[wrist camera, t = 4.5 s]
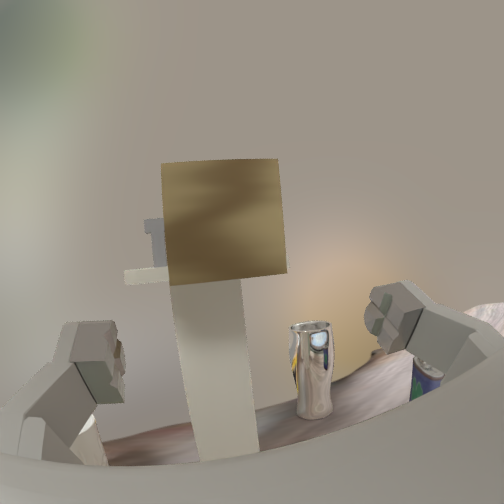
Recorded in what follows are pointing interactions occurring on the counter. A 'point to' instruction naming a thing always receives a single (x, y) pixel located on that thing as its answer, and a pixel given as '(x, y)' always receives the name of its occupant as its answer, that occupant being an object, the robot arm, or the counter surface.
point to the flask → (424, 378)
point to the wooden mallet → (223, 220)
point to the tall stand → (209, 355)
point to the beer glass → (312, 367)
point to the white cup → (90, 445)
